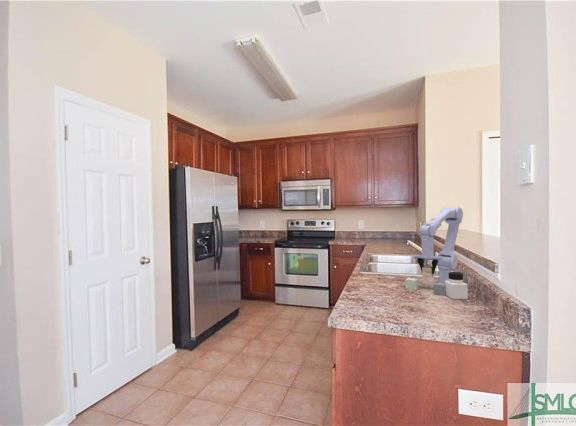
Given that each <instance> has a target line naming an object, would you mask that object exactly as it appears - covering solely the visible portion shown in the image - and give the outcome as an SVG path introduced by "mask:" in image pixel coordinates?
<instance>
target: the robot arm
mask: <svg viewBox="0 0 576 426" xmlns="http://www.w3.org/2000/svg"><path fill="white" fill-rule="evenodd" d="M463 217H464V212H463V210H462V208H461V207H460V206H458V207H442V208H441V209H440V212H439V214H438V215H437V217H433V218H431V219H430V220H429V221H428V222H427V223H426V224H425V225H421V226H420V227H419V230H418V234H419V237H420V240H421V254H413V255H412V259H413V260H414V259H416V261H417V263H418V266H419V268H420V271H421V272H422V267H424V266H425V265H424V264H425V260H427V261H428V260H429V261H431V267H432V274H435V270H436V268H438V275H439V276H438V280H439V281H438V282H437V283H444V285H445V281H449V272H452V271H455V269H456V268H457V266H458V255H456V253H455V252H454V250H455V246H456V241H457V236H458V232H459V227H460V224H461V223H462V221H463ZM443 222H445V223H446V224H448V227H447V232H446V236H445V241H444V244H443V248H442V250H441V251H439V252H437V255H434V254H435V253H434V237H435V236H436V233H437V231H438V229H439V228H440V227H441V226H442V223H443Z"/></svg>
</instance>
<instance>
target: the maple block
mask: <svg viewBox="0 0 576 426" xmlns="http://www.w3.org/2000/svg"><path fill="white" fill-rule="evenodd" d="M421 273H422V277H423V278H430V279H431V278H433V277H434V274H435V273H434V274H432V266H428V265H424V267H422V271H421Z"/></svg>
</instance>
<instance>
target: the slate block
mask: <svg viewBox="0 0 576 426" xmlns="http://www.w3.org/2000/svg"><path fill="white" fill-rule="evenodd" d="M433 294H434V295H435V296H446V295H445V285H444V283H438V282H433Z"/></svg>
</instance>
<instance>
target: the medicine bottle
mask: <svg viewBox="0 0 576 426" xmlns="http://www.w3.org/2000/svg"><path fill="white" fill-rule="evenodd" d="M468 291H469V286H468V283H466V282H464V273H463V272H460V271H455V270H454V271H452V272H449V281H445V296H446V297H449V298H450V299H452V300H468V298H469V292H468Z"/></svg>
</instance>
